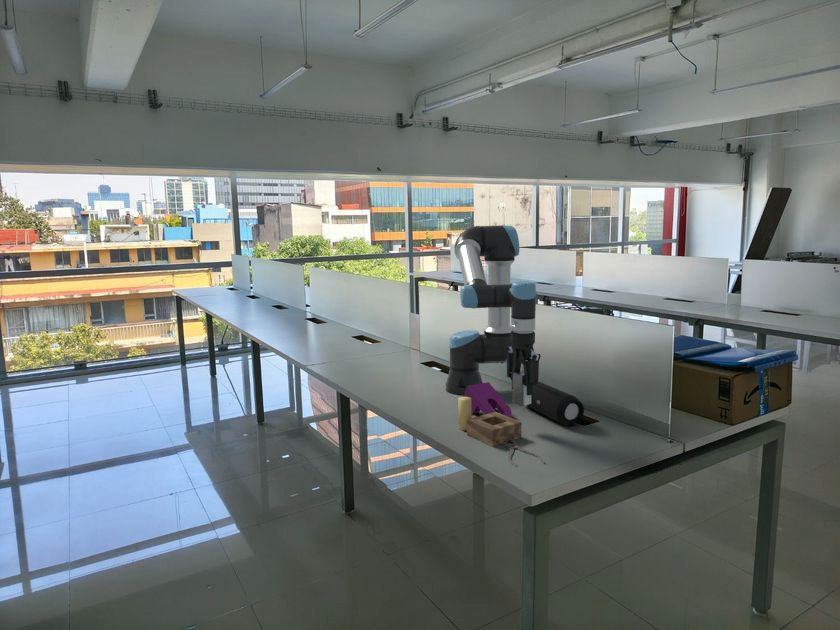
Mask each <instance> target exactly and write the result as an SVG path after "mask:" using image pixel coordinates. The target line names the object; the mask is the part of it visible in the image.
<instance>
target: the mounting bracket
mask: <svg viewBox="0 0 840 630" xmlns="http://www.w3.org/2000/svg"><path fill="white" fill-rule="evenodd" d="M463 397H470V398H471V409H472V415H474V413H475V414H478V413H480V412H481V413H482V415H486V414H489V413H493V412H497V411H498V413H500V414H502V415H505V416H507V417H510V418H511V416H512V412H513V411H512V409H511V407H510V406H509V405H508V404H507V402H506V401H505V400H504V398H503V397H501V395H500V394H499V392H497V390H496V389H495V388H494V387H493V386H492V384H491V383H490V382H489V381H487V382H483V383H481V384H475V385H470V386H467V387H466V390H465V393H464V394H463ZM496 410H497V411H496Z"/></svg>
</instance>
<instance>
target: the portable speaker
mask: <svg viewBox="0 0 840 630" xmlns="http://www.w3.org/2000/svg"><path fill="white" fill-rule="evenodd" d="M525 407H528V408H530V409H532V410H534V411H535V412H538V413H540V414H542V415H544V416H546V417H548V418H550V419H552V420H554V421H556V422H558V423H560V424H561V425H563V426H564V425H565V426H572V425H573V426H574V425H577V424H579V422H580V421H581V420H582V419H583V418H584V413H585V408H584V405H583V403H582V401H581V400H579V398H577V397H576V396H574V395H572V394H570V393H567V392H565V391H562V390H560V389H559V388H556V387H553V386H551V385H548V384H546V383H544V382H541V381H539V380H538V384H534V385H533V394H532V395H531V404H528V405H525Z"/></svg>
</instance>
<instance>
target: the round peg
mask: <svg viewBox="0 0 840 630" xmlns="http://www.w3.org/2000/svg"><path fill="white" fill-rule="evenodd" d="M457 401H458V402H457V403H458V404H457V405H458V406H457V407H458V429H459V430H460V431H463V432H464V431H466V432H467V419H470V418H473V417H472V416H473V414H472V409H471V398H470V397H464V396H460V397H458V399H457Z"/></svg>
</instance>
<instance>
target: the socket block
mask: <svg viewBox="0 0 840 630" xmlns="http://www.w3.org/2000/svg"><path fill="white" fill-rule="evenodd" d="M467 435H468V436H469V437H471V438H474V439H476V440H478V441H480V442H482V443H484V444H486V445H488V446H491V447H495V446H497V445H498V446H499V445H501V444H502V442H504V441H506V442H511V441H510V439H513V440H514V441H515V440H518V439H520V438H522V421H520V420H518V419H516V418H512V417H511V416H510V417H507V416H505V415H502V414H501V413H500V412H497V411H496V412H493V413H489V414H486V415H484V414H481V415H478V416H474V417H472V418H470V419H467V431H466V436H467ZM502 445H503V444H502Z"/></svg>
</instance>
